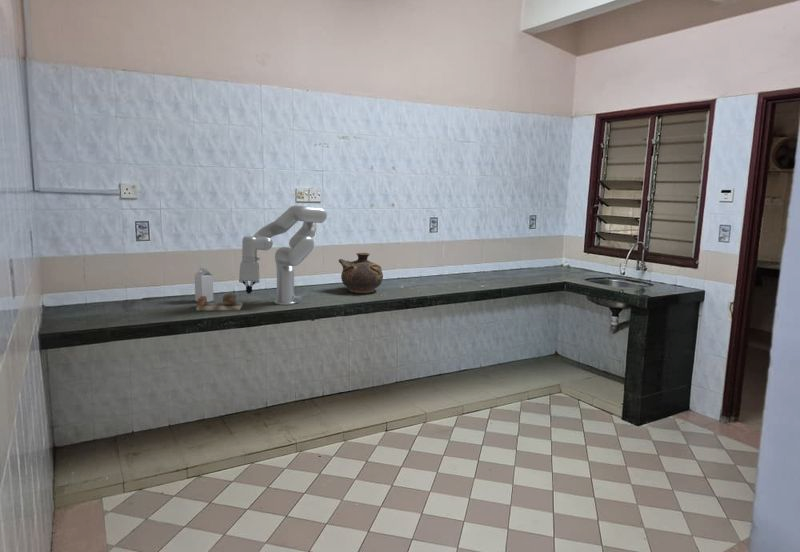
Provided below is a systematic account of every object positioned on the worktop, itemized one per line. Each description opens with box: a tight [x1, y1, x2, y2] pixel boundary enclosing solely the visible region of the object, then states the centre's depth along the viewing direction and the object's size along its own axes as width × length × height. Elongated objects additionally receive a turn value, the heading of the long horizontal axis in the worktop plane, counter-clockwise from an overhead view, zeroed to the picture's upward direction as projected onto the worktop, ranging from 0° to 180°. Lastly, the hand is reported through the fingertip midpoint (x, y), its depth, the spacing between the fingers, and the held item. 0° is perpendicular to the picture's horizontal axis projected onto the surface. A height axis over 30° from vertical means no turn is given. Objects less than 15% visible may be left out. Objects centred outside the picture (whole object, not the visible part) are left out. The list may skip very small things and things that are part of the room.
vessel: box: [338, 252, 384, 294], centre depth 347 cm, size 27×28×25 cm
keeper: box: [222, 293, 237, 305], centre depth 291 cm, size 6×6×5 cm
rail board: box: [196, 296, 243, 311], centre depth 290 cm, size 22×11×6 cm, turn 100°
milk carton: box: [194, 266, 214, 303], centre depth 304 cm, size 7×7×19 cm
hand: (248, 293), depth 291 cm, fingers closed
